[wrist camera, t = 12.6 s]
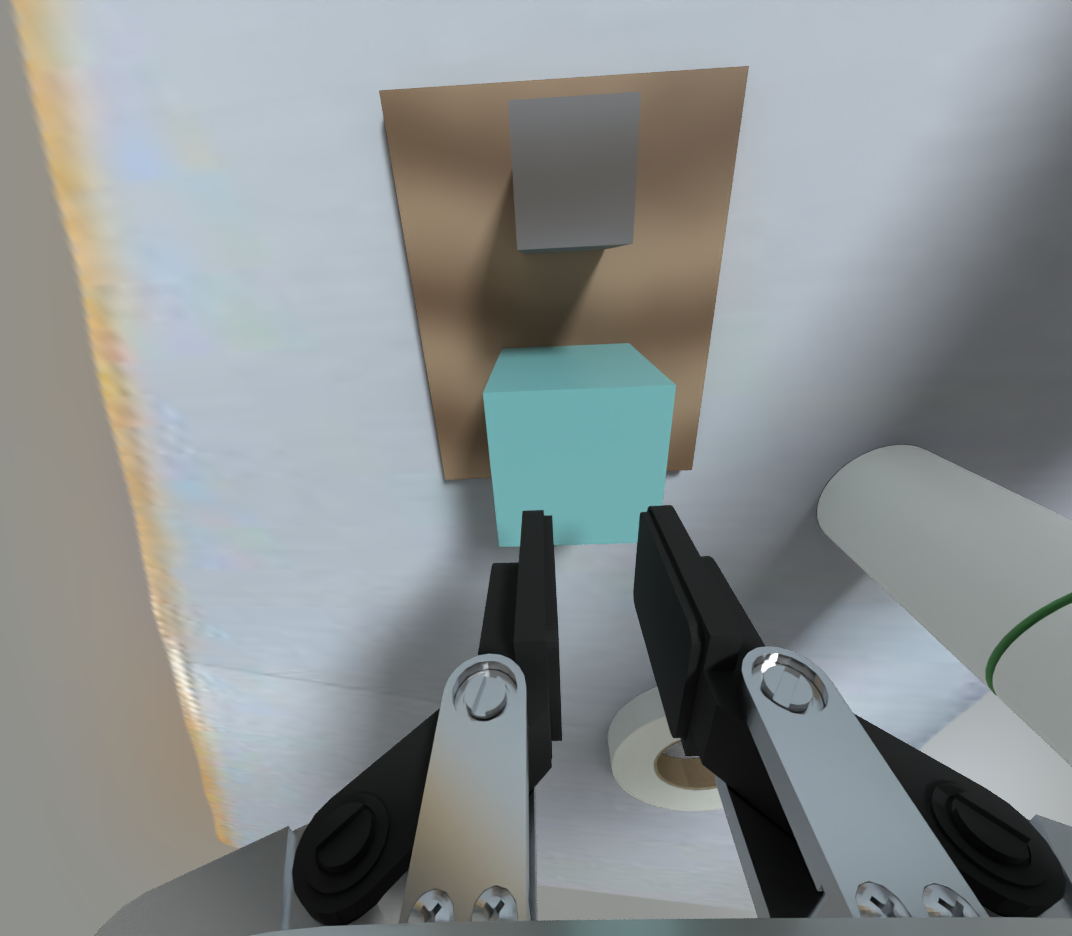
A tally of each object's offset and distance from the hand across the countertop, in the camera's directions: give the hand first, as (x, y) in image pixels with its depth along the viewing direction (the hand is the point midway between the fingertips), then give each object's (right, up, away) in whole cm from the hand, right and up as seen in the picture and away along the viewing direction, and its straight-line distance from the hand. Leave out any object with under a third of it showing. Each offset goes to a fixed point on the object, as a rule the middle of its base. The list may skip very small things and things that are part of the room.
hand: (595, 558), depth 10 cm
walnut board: (0, +10, +10) cm, 14 cm away
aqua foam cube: (0, +6, +11) cm, 12 cm away
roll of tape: (+13, -21, +26) cm, 36 cm away
